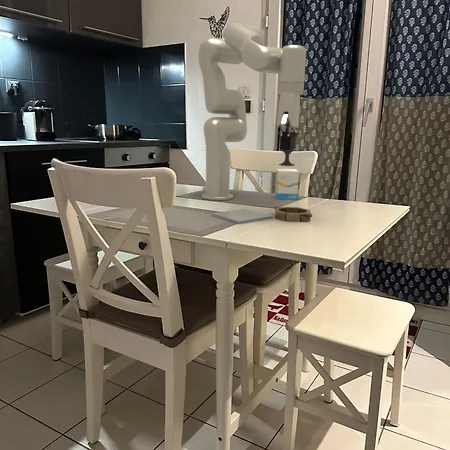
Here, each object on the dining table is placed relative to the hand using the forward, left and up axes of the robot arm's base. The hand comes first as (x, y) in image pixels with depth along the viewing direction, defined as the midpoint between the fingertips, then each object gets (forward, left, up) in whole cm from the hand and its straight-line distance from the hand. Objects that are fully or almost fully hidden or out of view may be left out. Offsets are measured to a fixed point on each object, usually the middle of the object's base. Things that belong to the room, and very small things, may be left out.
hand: (287, 148), depth 136 cm
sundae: (0, 0, -5) cm, 5 cm away
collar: (+2, +2, -22) cm, 22 cm away
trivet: (-8, -11, -22) cm, 26 cm away
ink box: (-26, +28, -22) cm, 44 cm away
